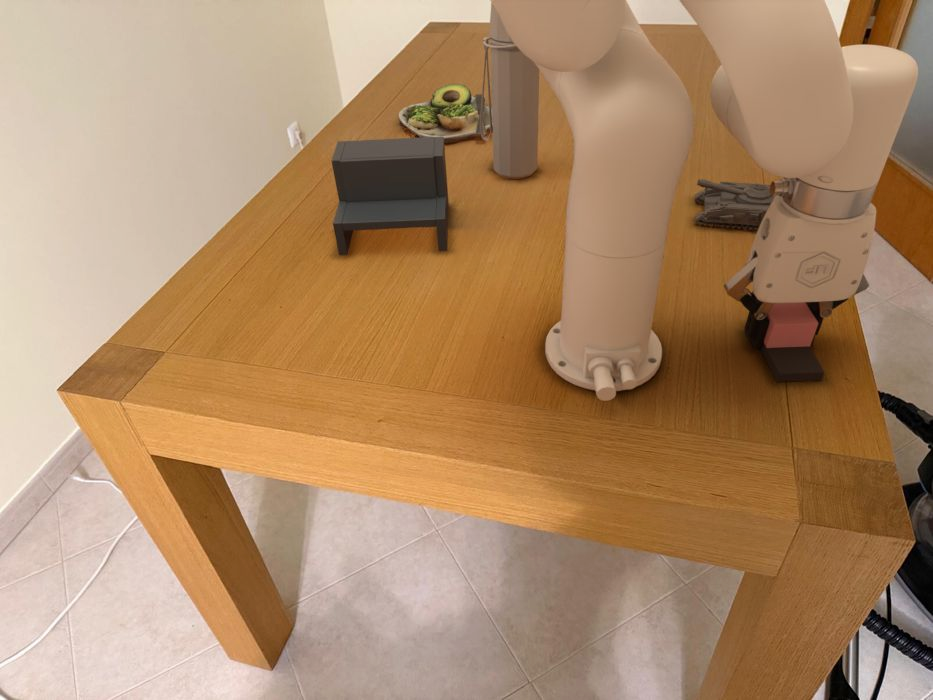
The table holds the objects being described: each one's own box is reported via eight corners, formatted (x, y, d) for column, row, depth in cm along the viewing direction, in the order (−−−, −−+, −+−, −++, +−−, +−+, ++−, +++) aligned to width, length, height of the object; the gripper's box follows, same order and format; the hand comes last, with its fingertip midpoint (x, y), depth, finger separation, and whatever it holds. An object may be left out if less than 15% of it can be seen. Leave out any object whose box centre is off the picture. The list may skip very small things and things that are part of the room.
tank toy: (691, 229, 94) (698, 195, 90) (691, 196, 100) (697, 163, 97) (785, 237, 91) (795, 202, 88) (778, 202, 98) (787, 168, 95)
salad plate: (524, 133, 120) (524, 107, 117) (431, 157, 114) (429, 131, 111) (474, 98, 133) (473, 74, 130) (389, 118, 127) (386, 93, 124)
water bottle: (542, 161, 111) (546, -7, 95) (532, 184, 106) (535, 9, 89) (487, 157, 113) (482, -8, 97) (475, 179, 108) (468, 8, 91)
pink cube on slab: (821, 380, 71) (834, 348, 68) (776, 382, 71) (787, 350, 68) (790, 325, 77) (800, 294, 74) (749, 327, 77) (758, 296, 75)
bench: (447, 251, 92) (441, 176, 85) (339, 255, 93) (324, 181, 86) (448, 206, 101) (443, 136, 94) (350, 211, 102) (337, 141, 95)
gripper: (748, 214, 61) (709, 365, 73) (941, 206, 60) (870, 359, 72) (724, 175, 66) (692, 321, 78) (900, 168, 66) (841, 315, 78)
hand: (778, 338), depth 75 cm, fingers closed on pink cube on slab, 4 cm apart
